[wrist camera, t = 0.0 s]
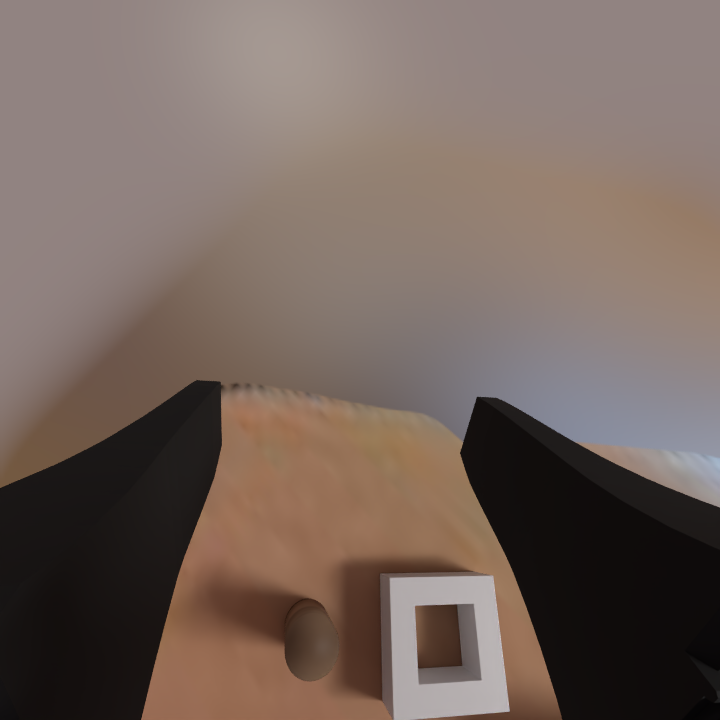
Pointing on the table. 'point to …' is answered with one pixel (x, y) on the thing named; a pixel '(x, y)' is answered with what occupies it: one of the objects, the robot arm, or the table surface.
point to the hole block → (477, 638)
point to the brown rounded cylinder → (310, 641)
